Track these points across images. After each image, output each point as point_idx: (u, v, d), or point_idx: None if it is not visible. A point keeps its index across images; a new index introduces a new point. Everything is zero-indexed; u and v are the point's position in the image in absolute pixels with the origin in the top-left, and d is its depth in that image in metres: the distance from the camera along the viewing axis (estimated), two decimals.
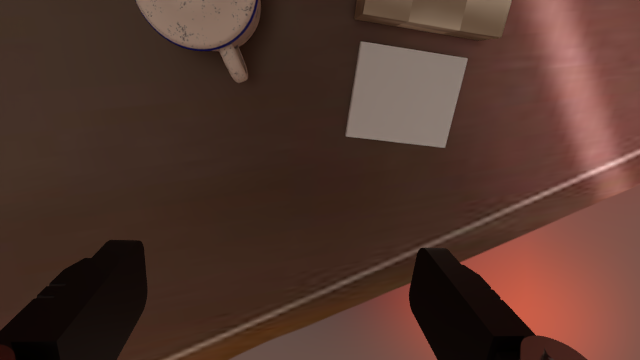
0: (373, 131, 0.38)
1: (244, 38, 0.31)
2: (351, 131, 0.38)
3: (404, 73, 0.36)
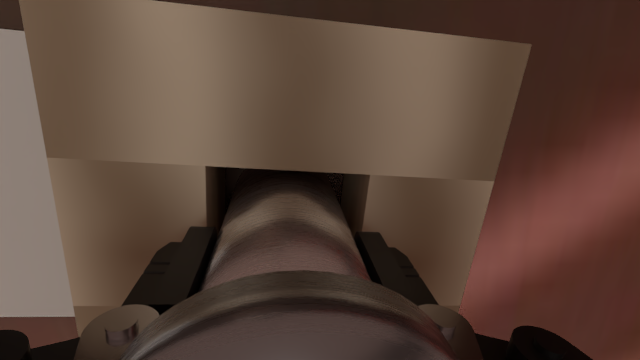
0: None
1: None
2: None
3: None
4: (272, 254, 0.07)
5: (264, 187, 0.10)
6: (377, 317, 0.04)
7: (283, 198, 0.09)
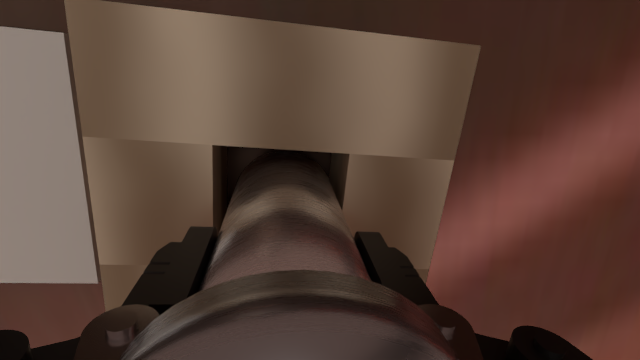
0: None
1: None
2: None
3: (19, 155, 0.15)
4: (272, 254, 0.07)
5: (264, 187, 0.10)
6: (376, 316, 0.04)
7: (282, 198, 0.09)
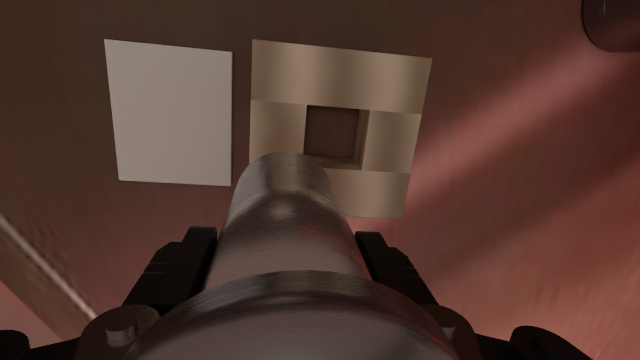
0: (119, 80, 0.28)
1: None
2: (113, 47, 0.27)
3: (202, 113, 0.29)
4: (274, 254, 0.07)
5: (265, 187, 0.10)
6: (379, 317, 0.04)
7: (284, 198, 0.09)
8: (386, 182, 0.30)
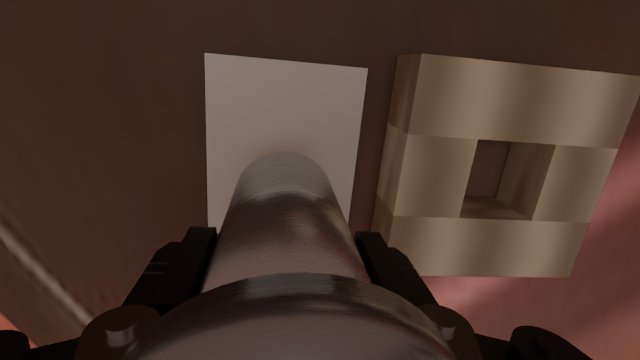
0: (220, 106, 0.21)
1: None
2: (215, 63, 0.20)
3: (321, 147, 0.23)
4: (272, 255, 0.07)
5: (264, 188, 0.10)
6: (376, 320, 0.04)
7: (283, 199, 0.09)
8: (558, 234, 0.23)
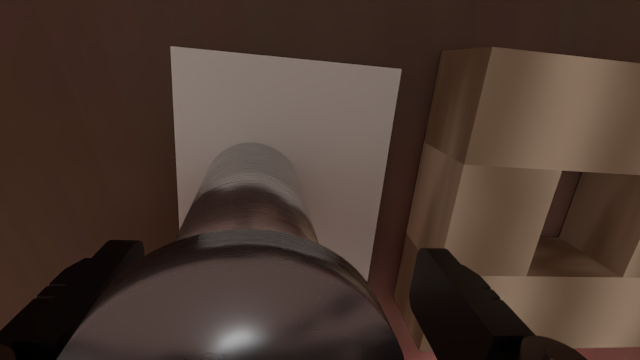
0: (194, 122, 0.15)
1: None
2: (186, 61, 0.14)
3: (335, 176, 0.17)
4: (228, 225, 0.08)
5: (228, 173, 0.11)
6: (299, 260, 0.05)
7: (243, 182, 0.10)
8: None
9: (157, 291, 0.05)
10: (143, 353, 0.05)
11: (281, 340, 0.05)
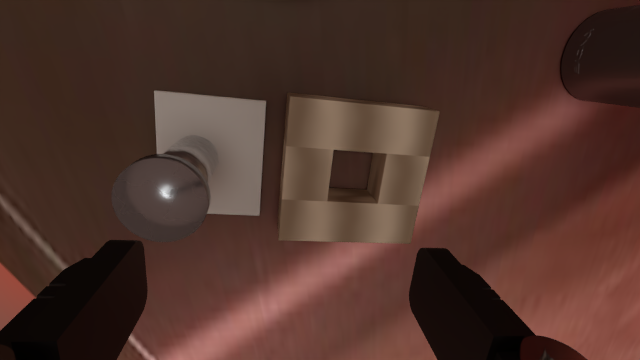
0: (165, 125, 0.31)
1: None
2: (161, 97, 0.30)
3: (237, 153, 0.33)
4: None
5: (174, 146, 0.28)
6: (174, 160, 0.22)
7: (178, 148, 0.27)
8: (398, 213, 0.34)
9: (139, 163, 0.21)
10: (136, 179, 0.22)
11: (169, 179, 0.22)
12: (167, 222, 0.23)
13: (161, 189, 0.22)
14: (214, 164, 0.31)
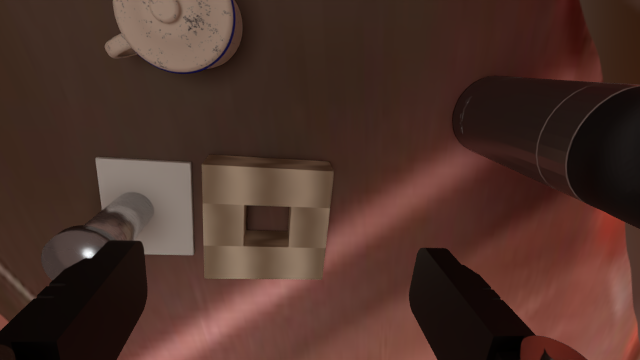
0: (107, 185, 0.38)
1: None
2: (102, 163, 0.37)
3: (169, 205, 0.39)
4: (89, 224, 0.31)
5: (107, 207, 0.34)
6: (89, 231, 0.28)
7: (107, 211, 0.33)
8: (307, 254, 0.40)
9: (60, 235, 0.28)
10: (59, 247, 0.28)
11: (85, 246, 0.28)
12: None
13: (79, 253, 0.28)
14: (145, 218, 0.37)
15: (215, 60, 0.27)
